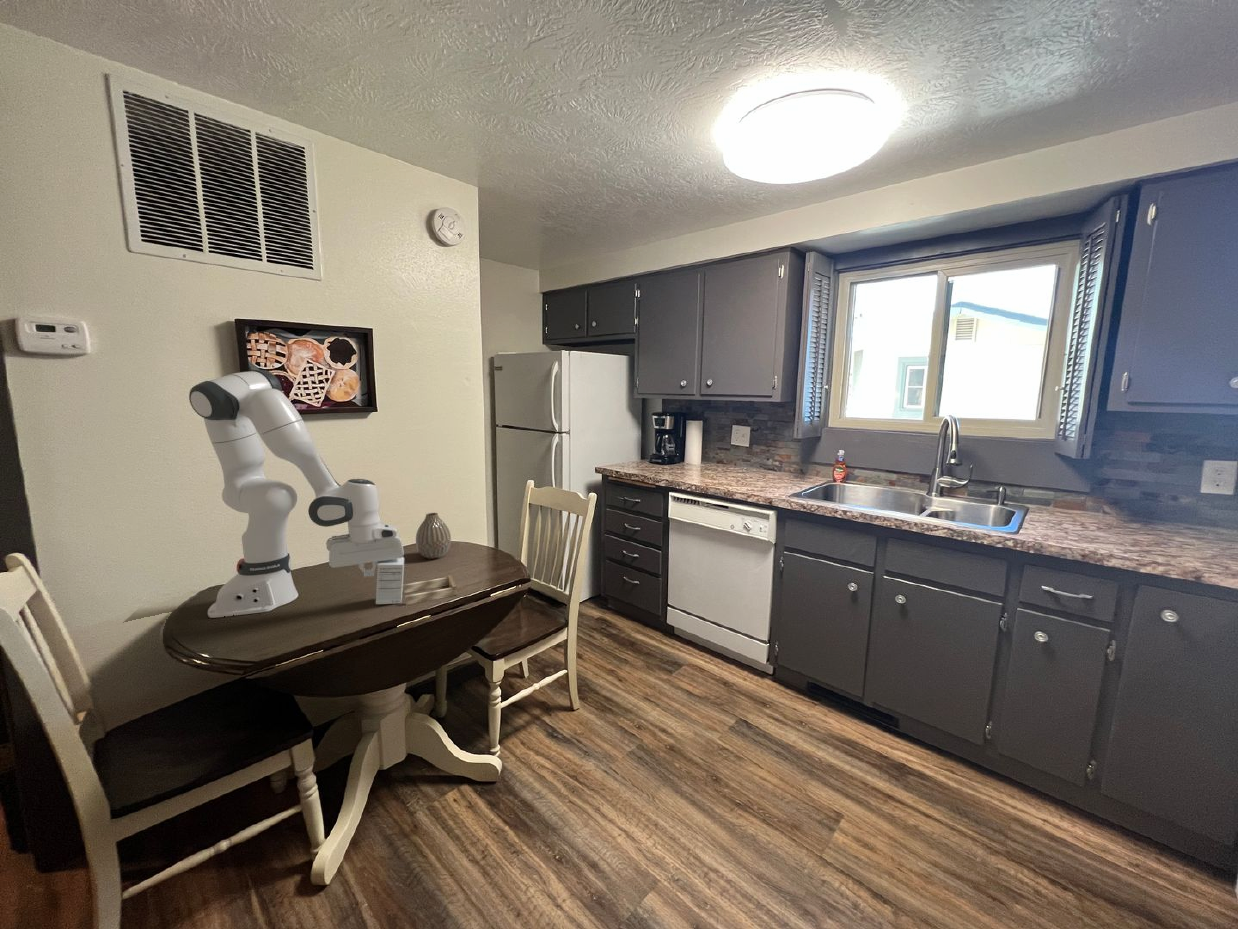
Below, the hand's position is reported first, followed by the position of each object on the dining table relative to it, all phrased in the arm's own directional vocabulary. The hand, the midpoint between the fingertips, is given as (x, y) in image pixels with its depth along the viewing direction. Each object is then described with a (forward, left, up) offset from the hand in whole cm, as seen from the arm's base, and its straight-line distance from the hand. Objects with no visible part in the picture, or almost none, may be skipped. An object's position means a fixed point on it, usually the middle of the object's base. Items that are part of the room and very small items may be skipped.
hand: (369, 576), depth 149 cm
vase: (+23, +39, -9) cm, 46 cm away
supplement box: (+5, 0, -9) cm, 10 cm away
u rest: (+16, 0, -9) cm, 19 cm away
